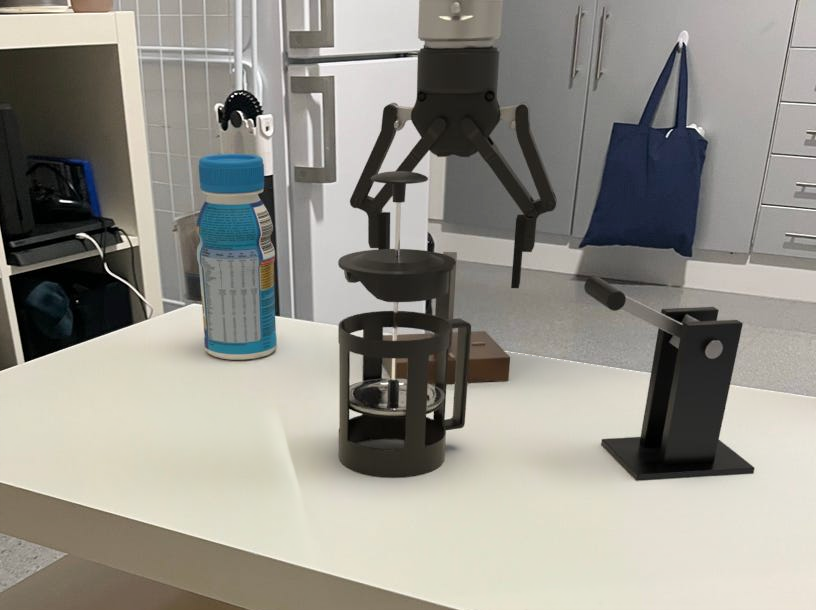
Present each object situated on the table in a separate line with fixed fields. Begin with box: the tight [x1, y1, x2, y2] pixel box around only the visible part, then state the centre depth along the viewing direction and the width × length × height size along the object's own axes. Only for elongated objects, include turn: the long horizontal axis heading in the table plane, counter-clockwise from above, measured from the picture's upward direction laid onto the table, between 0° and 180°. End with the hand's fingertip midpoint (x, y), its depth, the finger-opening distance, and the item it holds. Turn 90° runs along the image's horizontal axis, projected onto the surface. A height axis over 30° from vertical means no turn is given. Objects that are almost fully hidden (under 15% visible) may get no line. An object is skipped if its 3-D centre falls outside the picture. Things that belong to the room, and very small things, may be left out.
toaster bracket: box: [600, 306, 756, 482], centre depth 82 cm, size 10×8×13 cm
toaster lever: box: [583, 275, 699, 348], centre depth 78 cm, size 11×5×2 cm, turn 98°
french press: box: [337, 170, 472, 479], centre depth 80 cm, size 12×9×23 cm
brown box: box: [382, 330, 511, 385], centre depth 109 cm, size 12×10×3 cm
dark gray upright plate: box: [433, 251, 458, 340], centre depth 105 cm, size 5×1×9 cm, turn 168°
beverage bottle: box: [195, 153, 278, 361], centre depth 110 cm, size 8×8×20 cm
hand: (448, 283), depth 104 cm, fingers open, 13 cm apart
